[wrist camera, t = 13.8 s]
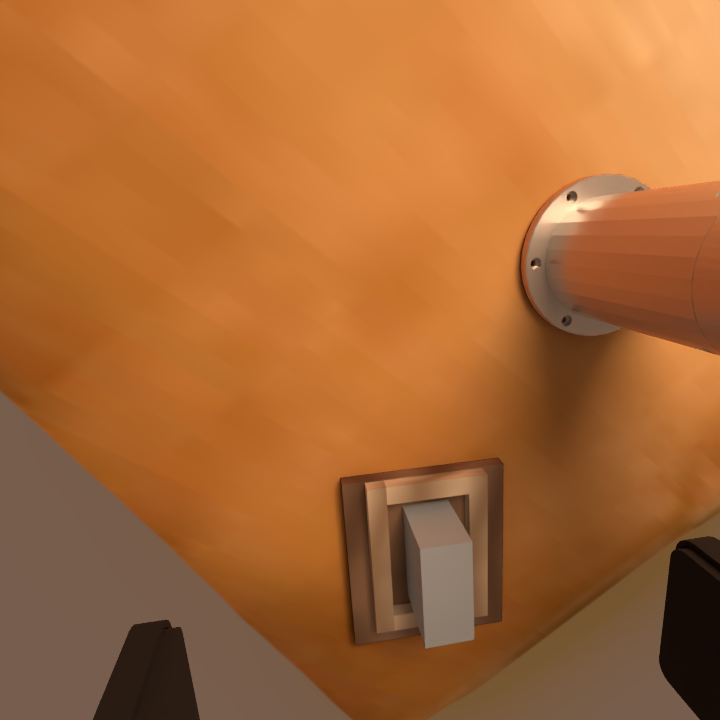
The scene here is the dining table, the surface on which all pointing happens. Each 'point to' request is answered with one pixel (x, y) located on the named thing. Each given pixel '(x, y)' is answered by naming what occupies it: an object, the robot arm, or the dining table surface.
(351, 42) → the dining table surface
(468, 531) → the jig
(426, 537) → the grey rectangular block
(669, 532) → the dining table surface
